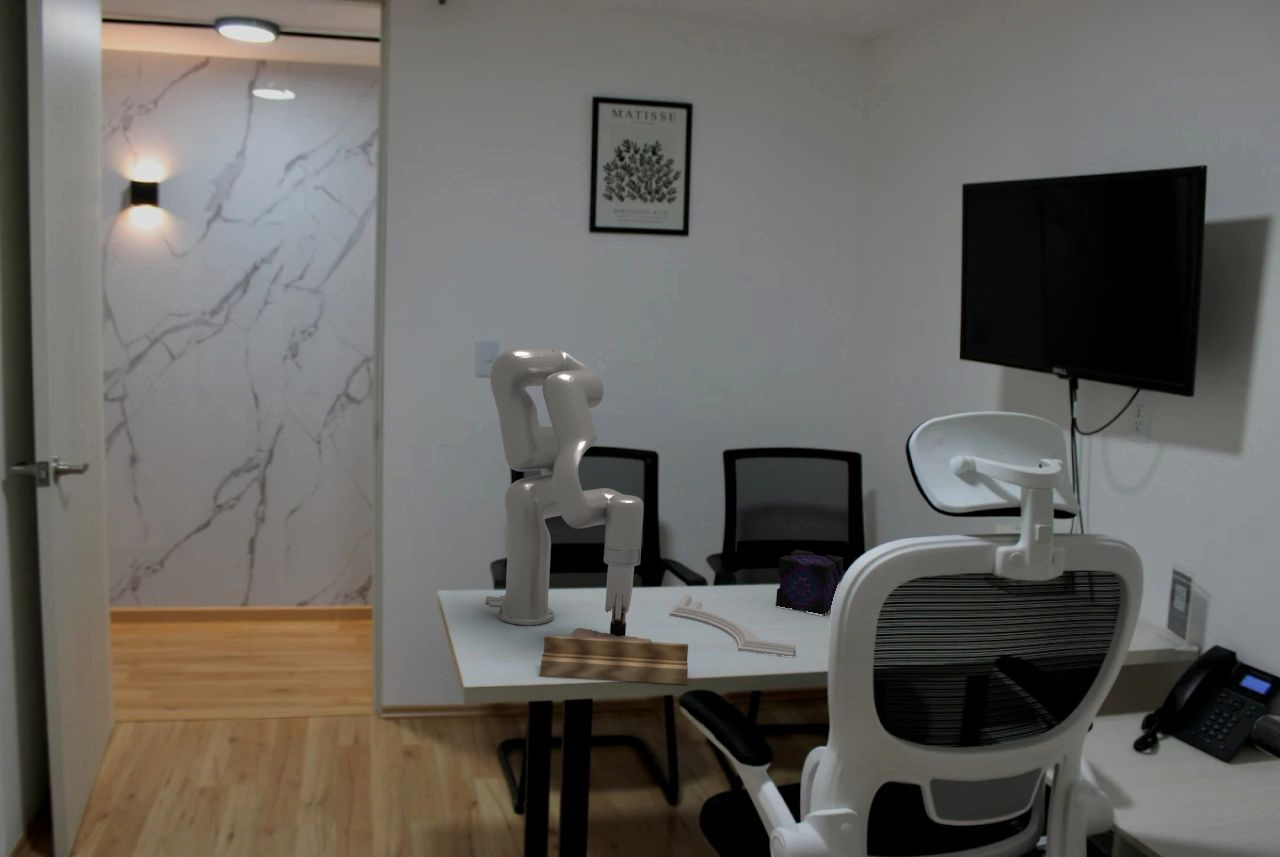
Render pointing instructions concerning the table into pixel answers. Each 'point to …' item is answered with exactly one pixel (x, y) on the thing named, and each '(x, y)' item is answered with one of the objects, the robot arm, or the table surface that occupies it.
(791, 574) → the energy cube
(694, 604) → the molding
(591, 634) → the brick
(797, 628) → the table surface
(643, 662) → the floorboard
